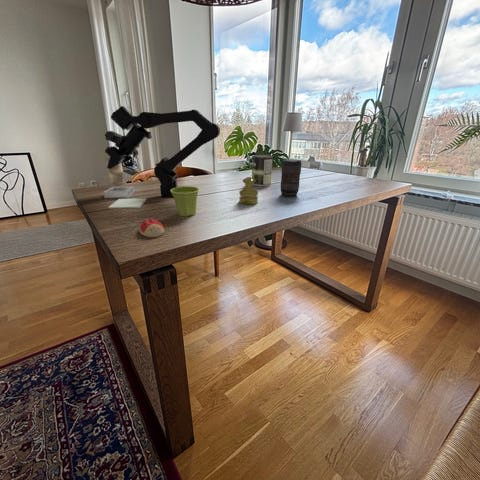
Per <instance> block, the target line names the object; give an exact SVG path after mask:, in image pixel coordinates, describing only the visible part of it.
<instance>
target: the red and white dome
mask: <svg viewBox="0 0 480 480" xmlns="http://www.w3.org/2000/svg"><path fill="white" fill-rule="evenodd" d="M139 233H140V234H141V235H142V236H144V237H147V238H158V237H160V236H162V235H163V234H164V233H165V227H164V225H163V224H162V223H161V222H160V221H159V220H157V218H152V217H150V218H145V219H144V220H143V221H141V224H140V225H139Z"/></svg>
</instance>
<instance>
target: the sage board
mask: <svg viewBox="0 0 480 480" xmlns="http://www.w3.org/2000/svg"><path fill="white" fill-rule="evenodd" d="M146 201H148V199H147V198H117V200H115V201H114V202H112V203H111V204H110V205H109V206H108V207H107V208H108V210H109V209H140V208H141V207H142V205H144V204H145V202H146Z"/></svg>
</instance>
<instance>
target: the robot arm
mask: <svg viewBox="0 0 480 480" xmlns="http://www.w3.org/2000/svg"><path fill="white" fill-rule="evenodd" d="M110 119H111V120H112V121H113V122H114V123H115V124H116V125H118V127H120V128H121V129H122V130H123V131H125V130H126V131H128V132H127V133H126V135H122V134H119V133H117V132H115V131H113V130H107V131H106V133H104V137H105V140H106V141H110V143H113V144H114V146H111V145H110V146H107V147H106V148H105V150H104V153H106V154H107V156H108V157H110V159H109V162H108V166H107V165H106V168H107V170H108V169H111V168H113V167H115V166H116V165H118V164H120V163H122V165H123V164H124V163H127V162H129V161H132V160H133V159H135V158H137V157H138V155H139V150H137V149H138V148H139V147H140V146H141V143H142V142H143V141H144V139H145V138H146V139H147V140H151V139H153V138H152V131H147V129H154V128H157V127H161V126H163V125H167V124H176V123H186V122H193V123H194V124H196V126H197V127H199V129H201V130H200V132H198V135H197V136H196V137H195V138H194V139H193V140H191V141H190V142H189V143H188V144H186V146H184V147H183V148H181V150H179V151H178V152H177V153H175V154H174V155H173V156H172V157H171V158H168V156H166V157H163V158H162V159H161V160H160V161H159V162H158V163H155V167H154V169H153V174H154V175H155V177H156V178H157V179H158V181H159V183H160V185H159V188H160V195H161V198H174V197H173V195H172V193H171V191H170V190H171V189H173V188H176V187H178V180H177V179H178V175H179V174H177V173H176V171H175V169H176V168H177V167H178V165H180V164H181V163H182V162H183V161H185V160H186V159H187V158H188V157H190V156H191V155H192V154H194V153H195V152H196V151H197V150H199V149H200V148H201V147H202V146H203V145H206V144H207V143H210V142H211V141H213V140H215V139H216V138H218V137H219V136H220V134H221V127H220V126H219V125H218V124H217V123H216V122H211V120H209V119H208V118H207V117H205V116H204V115H203V114H202V113H201V112H200V111H199V110H197V109H191V110H185V111H183V110H182V111H174V112H161V113H160V112H150V111H149V112H148V111H141V112H140V113H139V115H133V114H132V113H131V112H130V111H129V110H128V109H127V108H126V107H125V106H123V105H121V106H119V108H117V109H116V110H114V111H113V112H112V114H111V116H110ZM139 149H140V148H139Z"/></svg>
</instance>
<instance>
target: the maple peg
mask: <svg viewBox="0 0 480 480" xmlns="http://www.w3.org/2000/svg"><path fill="white" fill-rule="evenodd" d="M109 159H110V156H107V157H105V163H106V167H107V166H108V162H109ZM107 171H108V176H109V181H110V182H109V183H110V185H111V186H112V187H120V186H124V185H126V181H125V180H126V179H125V176H124V175H125V174H124V169H123V164H122V163H120V164H118V165H116V166H115V167H113V168H111V169H108V168H107Z"/></svg>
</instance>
